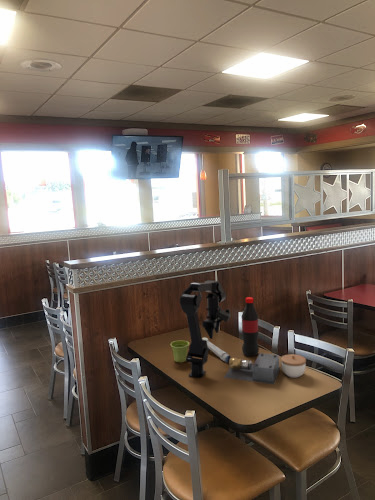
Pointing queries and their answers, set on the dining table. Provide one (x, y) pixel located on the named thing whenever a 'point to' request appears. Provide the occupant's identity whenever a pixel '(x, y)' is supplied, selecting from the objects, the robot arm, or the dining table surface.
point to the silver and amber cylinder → (240, 364)
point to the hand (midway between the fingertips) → (214, 335)
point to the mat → (244, 375)
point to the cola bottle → (250, 329)
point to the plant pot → (180, 350)
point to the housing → (265, 367)
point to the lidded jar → (293, 365)
